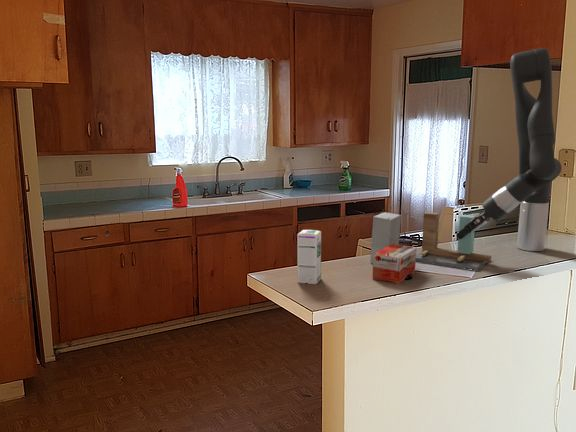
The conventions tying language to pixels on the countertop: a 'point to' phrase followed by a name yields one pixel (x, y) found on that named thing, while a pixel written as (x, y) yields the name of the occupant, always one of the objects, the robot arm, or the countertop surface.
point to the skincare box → (384, 231)
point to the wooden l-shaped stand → (432, 240)
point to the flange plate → (449, 261)
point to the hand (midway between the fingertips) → (460, 235)
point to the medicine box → (394, 263)
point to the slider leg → (468, 241)
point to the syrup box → (309, 256)
